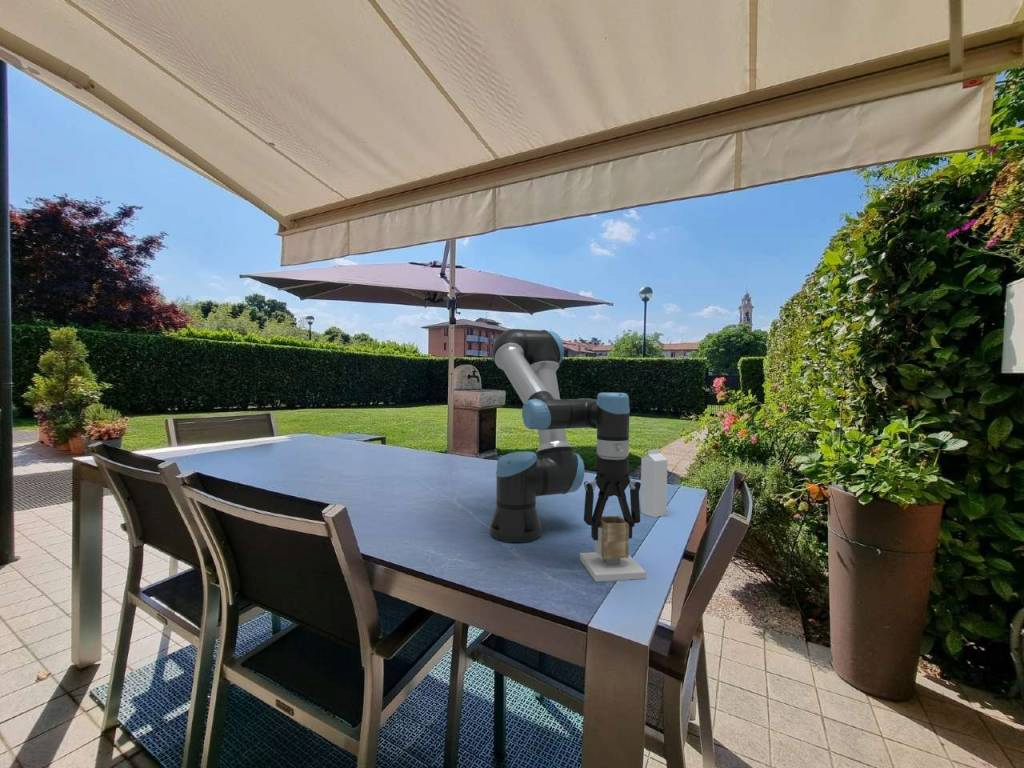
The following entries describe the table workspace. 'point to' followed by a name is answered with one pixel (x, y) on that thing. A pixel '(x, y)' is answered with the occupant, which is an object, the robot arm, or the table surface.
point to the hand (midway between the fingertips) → (611, 552)
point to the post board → (611, 567)
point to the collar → (614, 537)
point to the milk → (654, 484)
